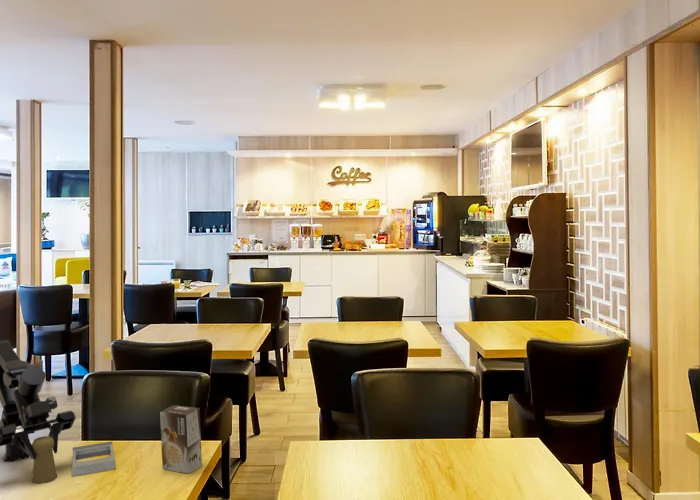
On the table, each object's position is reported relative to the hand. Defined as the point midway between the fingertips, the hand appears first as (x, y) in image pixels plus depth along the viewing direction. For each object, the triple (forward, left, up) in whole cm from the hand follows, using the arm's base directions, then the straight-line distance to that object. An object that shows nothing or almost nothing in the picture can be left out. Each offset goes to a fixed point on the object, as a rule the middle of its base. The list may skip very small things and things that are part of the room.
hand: (45, 455), depth 157 cm
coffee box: (+8, +33, -7) cm, 35 cm away
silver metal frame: (-7, +11, -7) cm, 15 cm away
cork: (-1, -1, -7) cm, 7 cm away
